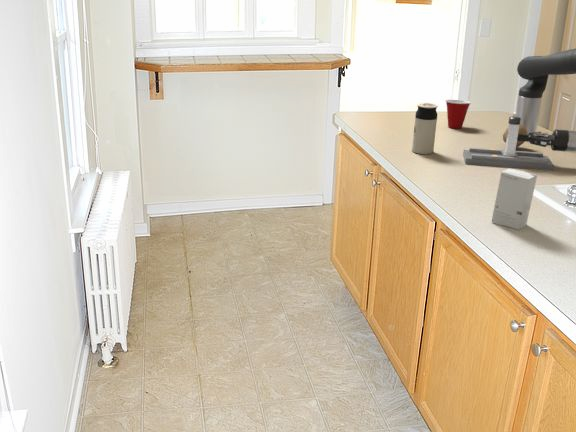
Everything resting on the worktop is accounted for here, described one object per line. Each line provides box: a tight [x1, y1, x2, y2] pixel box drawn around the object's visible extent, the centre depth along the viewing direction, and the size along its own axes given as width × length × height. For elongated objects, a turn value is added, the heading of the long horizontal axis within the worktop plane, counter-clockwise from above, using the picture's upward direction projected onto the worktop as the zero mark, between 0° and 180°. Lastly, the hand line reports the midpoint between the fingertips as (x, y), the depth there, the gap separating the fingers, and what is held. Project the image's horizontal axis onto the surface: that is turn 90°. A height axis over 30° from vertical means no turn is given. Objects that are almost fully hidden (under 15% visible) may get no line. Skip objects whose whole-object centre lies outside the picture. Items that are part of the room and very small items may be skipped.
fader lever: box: [501, 116, 521, 157], centre depth 237 cm, size 5×6×14 cm
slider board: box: [462, 147, 554, 171], centre depth 240 cm, size 30×12×3 cm, turn 80°
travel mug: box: [411, 102, 439, 155], centre depth 248 cm, size 8×8×18 cm
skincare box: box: [491, 167, 538, 230], centre depth 181 cm, size 8×6×15 cm
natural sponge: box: [502, 124, 528, 149], centre depth 258 cm, size 9×9×10 cm
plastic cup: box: [444, 99, 472, 130], centre depth 288 cm, size 11×11×12 cm
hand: (516, 137), depth 237 cm, fingers closed
